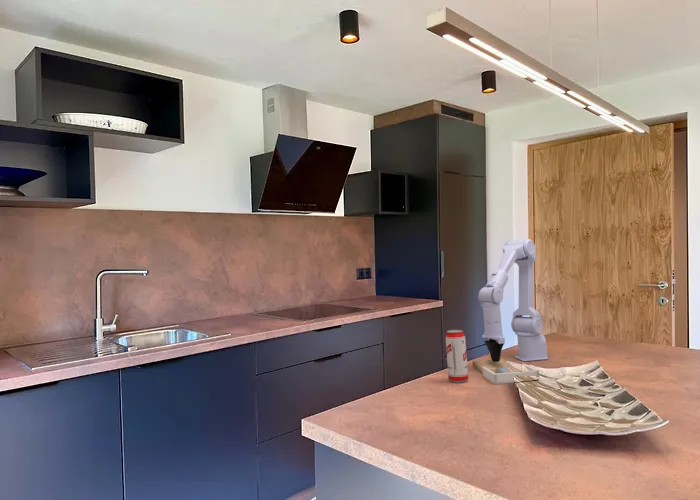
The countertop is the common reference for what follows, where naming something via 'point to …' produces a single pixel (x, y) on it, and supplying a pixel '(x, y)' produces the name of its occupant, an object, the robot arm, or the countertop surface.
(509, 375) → the tray
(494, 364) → the board
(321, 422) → the countertop surface
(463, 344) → the beer can
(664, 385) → the countertop surface
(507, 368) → the tile rear
